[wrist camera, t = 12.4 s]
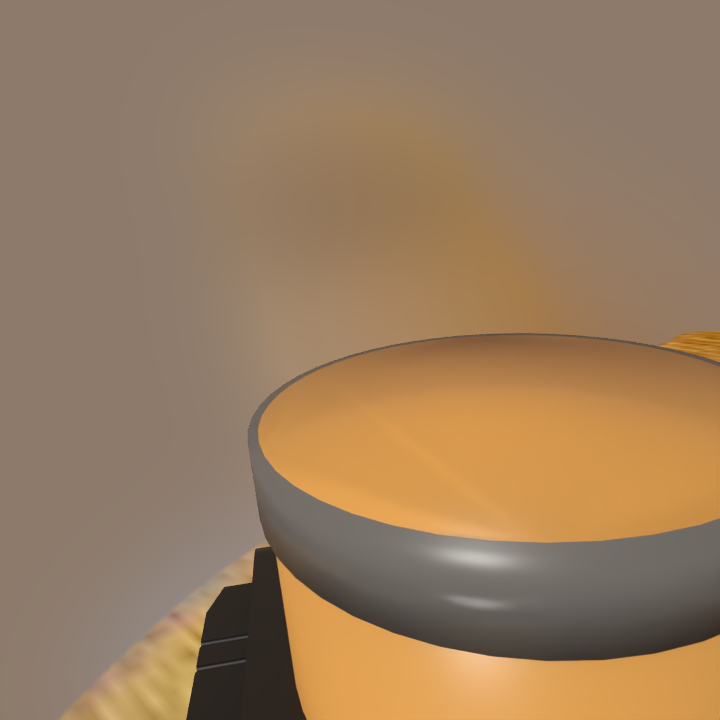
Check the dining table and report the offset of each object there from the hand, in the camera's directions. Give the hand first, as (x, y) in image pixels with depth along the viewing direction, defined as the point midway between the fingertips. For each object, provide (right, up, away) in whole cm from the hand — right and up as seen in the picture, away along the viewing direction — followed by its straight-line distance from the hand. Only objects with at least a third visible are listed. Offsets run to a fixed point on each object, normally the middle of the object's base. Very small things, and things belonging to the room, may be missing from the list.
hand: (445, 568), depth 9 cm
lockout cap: (+1, -6, -1) cm, 7 cm away
